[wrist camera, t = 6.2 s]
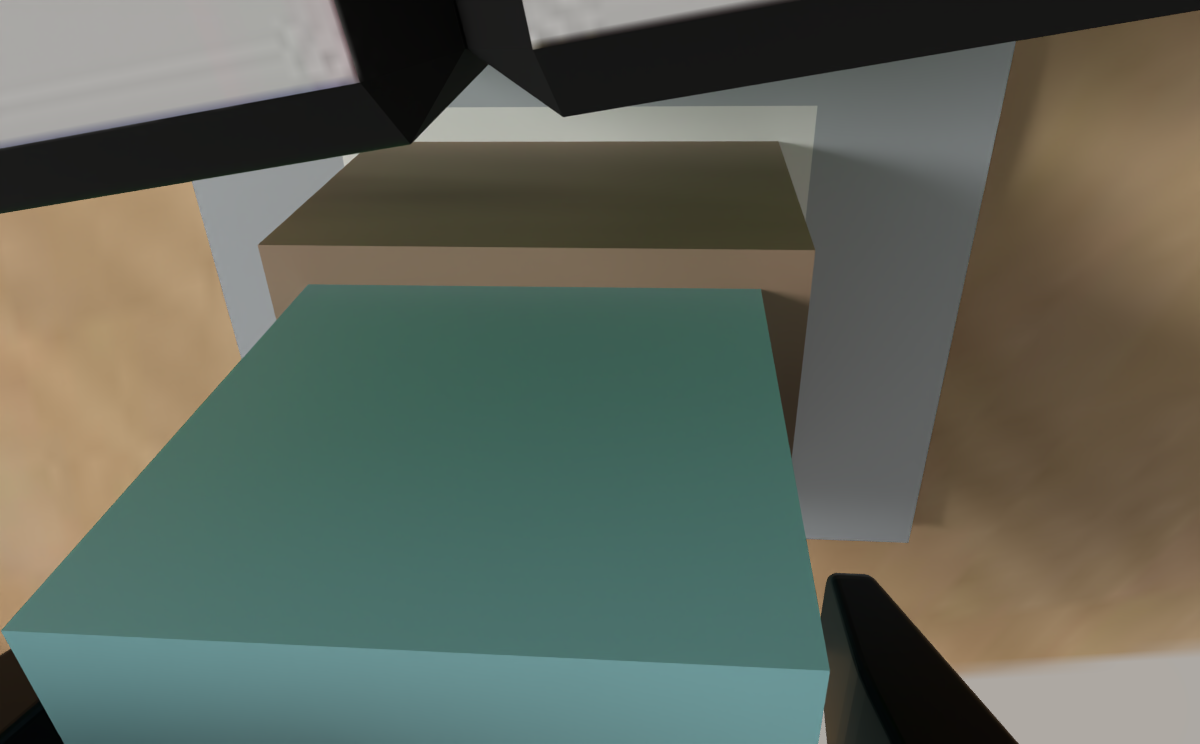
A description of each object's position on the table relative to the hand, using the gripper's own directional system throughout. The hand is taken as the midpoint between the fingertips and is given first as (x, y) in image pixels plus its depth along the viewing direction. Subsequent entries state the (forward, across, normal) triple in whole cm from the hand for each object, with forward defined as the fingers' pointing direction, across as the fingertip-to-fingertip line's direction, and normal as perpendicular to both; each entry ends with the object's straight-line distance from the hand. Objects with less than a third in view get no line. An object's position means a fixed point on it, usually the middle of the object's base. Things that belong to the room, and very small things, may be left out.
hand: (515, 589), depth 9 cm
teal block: (+2, 0, 0) cm, 2 cm away
